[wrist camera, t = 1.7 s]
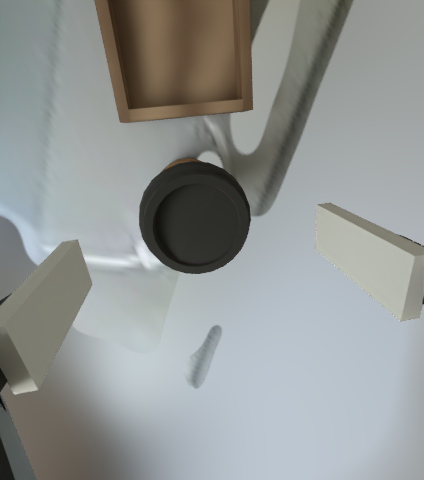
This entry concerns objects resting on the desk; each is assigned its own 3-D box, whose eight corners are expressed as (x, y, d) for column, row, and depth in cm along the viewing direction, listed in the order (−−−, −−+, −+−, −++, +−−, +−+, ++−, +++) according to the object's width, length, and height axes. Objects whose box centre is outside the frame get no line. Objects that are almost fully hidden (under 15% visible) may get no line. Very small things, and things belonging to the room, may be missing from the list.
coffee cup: (139, 199, 32) (114, 252, 18) (171, 134, 30) (170, 139, 16) (200, 229, 34) (218, 295, 21) (234, 171, 32) (279, 202, 18)
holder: (125, 122, 29) (119, 122, 25) (93, -38, 23) (81, -65, 20) (244, 111, 30) (252, 109, 27) (238, -45, 25) (248, -71, 21)
